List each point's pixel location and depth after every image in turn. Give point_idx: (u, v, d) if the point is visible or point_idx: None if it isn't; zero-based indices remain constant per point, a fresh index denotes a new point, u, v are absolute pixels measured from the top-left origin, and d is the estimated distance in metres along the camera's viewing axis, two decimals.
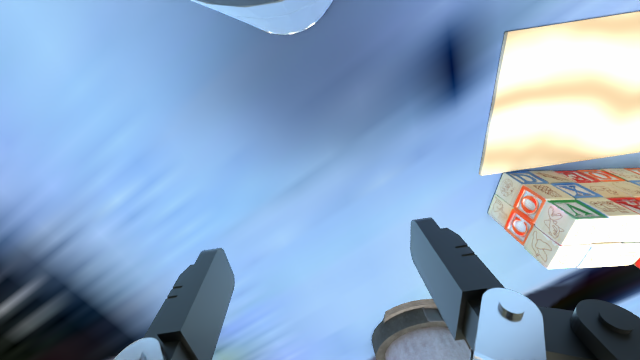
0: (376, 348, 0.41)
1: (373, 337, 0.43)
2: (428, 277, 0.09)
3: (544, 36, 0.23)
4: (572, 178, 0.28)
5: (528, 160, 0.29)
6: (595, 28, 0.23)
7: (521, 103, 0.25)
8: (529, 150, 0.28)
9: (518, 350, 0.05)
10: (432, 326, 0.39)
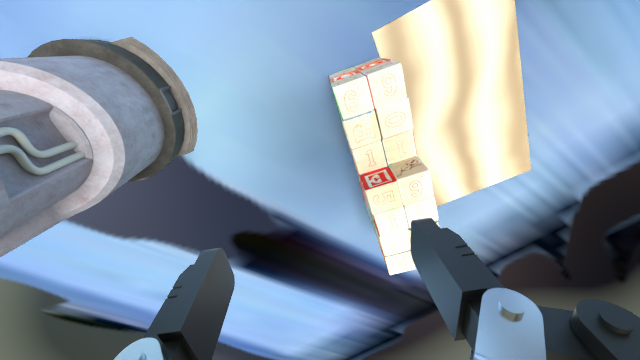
0: None
1: None
2: (428, 277, 0.09)
3: (506, 0, 0.26)
4: None
5: None
6: (511, 44, 0.28)
7: (448, 22, 0.27)
8: (406, 67, 0.29)
9: (518, 350, 0.05)
10: (153, 100, 0.28)
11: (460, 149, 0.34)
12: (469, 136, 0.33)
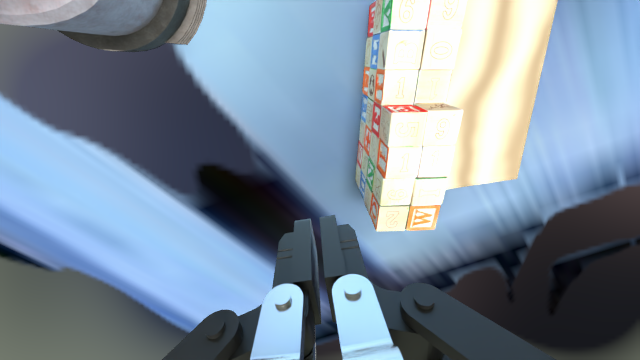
0: None
1: None
2: None
3: None
4: None
5: None
6: (541, 43, 0.29)
7: None
8: None
9: (367, 323, 0.06)
10: None
11: (465, 136, 0.34)
12: (477, 125, 0.33)
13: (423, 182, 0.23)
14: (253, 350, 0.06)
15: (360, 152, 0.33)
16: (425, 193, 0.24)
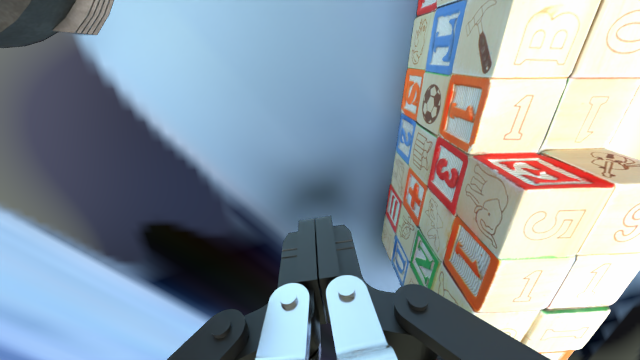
0: None
1: None
2: None
3: None
4: None
5: None
6: None
7: None
8: None
9: (361, 324, 0.06)
10: None
11: None
12: None
13: (557, 319, 0.11)
14: (259, 349, 0.06)
15: (394, 205, 0.20)
16: (556, 335, 0.11)
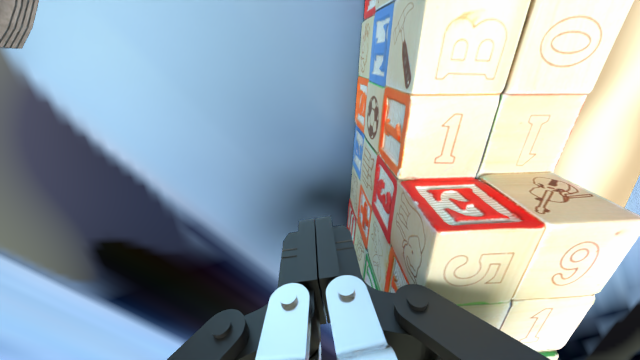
0: None
1: None
2: None
3: None
4: None
5: None
6: None
7: None
8: None
9: (361, 324, 0.06)
10: None
11: None
12: None
13: None
14: (259, 348, 0.06)
15: (352, 222, 0.19)
16: None
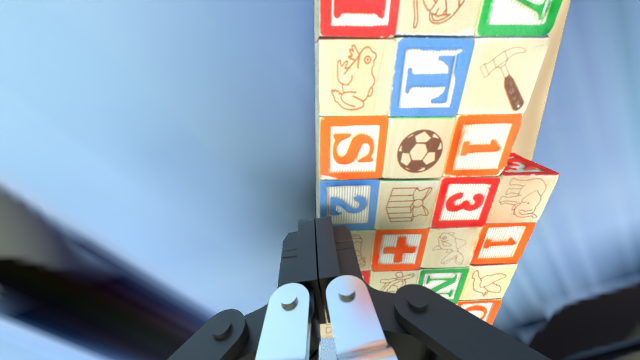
0: None
1: None
2: None
3: None
4: None
5: None
6: (543, 62, 0.16)
7: None
8: None
9: (361, 324, 0.06)
10: None
11: None
12: None
13: None
14: (259, 348, 0.06)
15: None
16: None
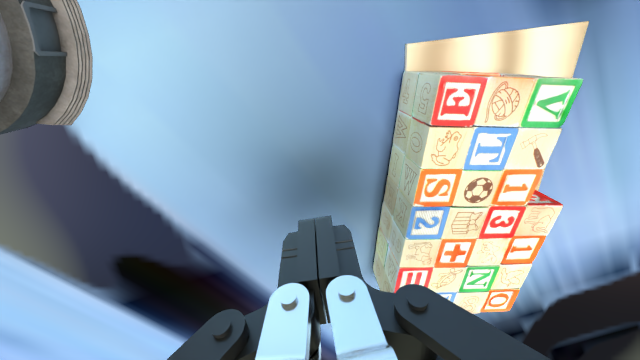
0: None
1: None
2: None
3: (565, 70, 0.21)
4: None
5: None
6: None
7: (498, 70, 0.21)
8: None
9: (361, 324, 0.06)
10: (2, 15, 0.15)
11: None
12: None
13: None
14: (259, 348, 0.06)
15: (416, 278, 0.22)
16: None
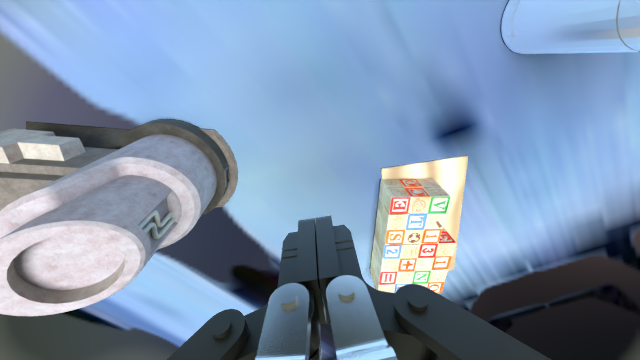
0: (165, 123, 0.35)
1: (170, 119, 0.37)
2: None
3: (461, 175, 0.43)
4: None
5: None
6: (458, 198, 0.45)
7: (427, 177, 0.43)
8: None
9: (361, 324, 0.06)
10: (216, 175, 0.38)
11: None
12: None
13: None
14: (258, 349, 0.06)
15: (389, 276, 0.45)
16: None
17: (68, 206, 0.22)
